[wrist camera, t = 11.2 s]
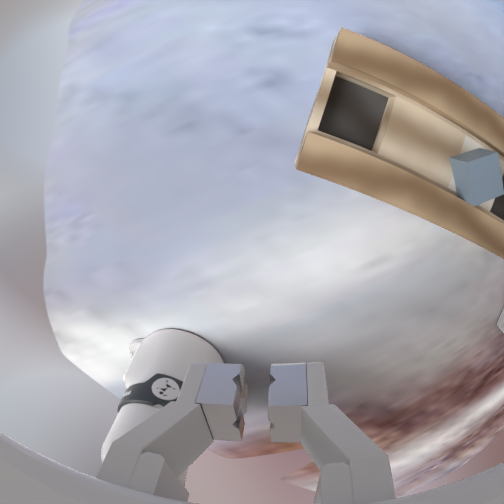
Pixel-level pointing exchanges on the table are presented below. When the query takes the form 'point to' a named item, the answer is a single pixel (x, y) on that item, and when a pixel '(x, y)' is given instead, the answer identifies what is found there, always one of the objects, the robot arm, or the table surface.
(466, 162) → the slate block
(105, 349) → the table surface
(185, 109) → the table surface
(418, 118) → the trap lane
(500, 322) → the ink box
